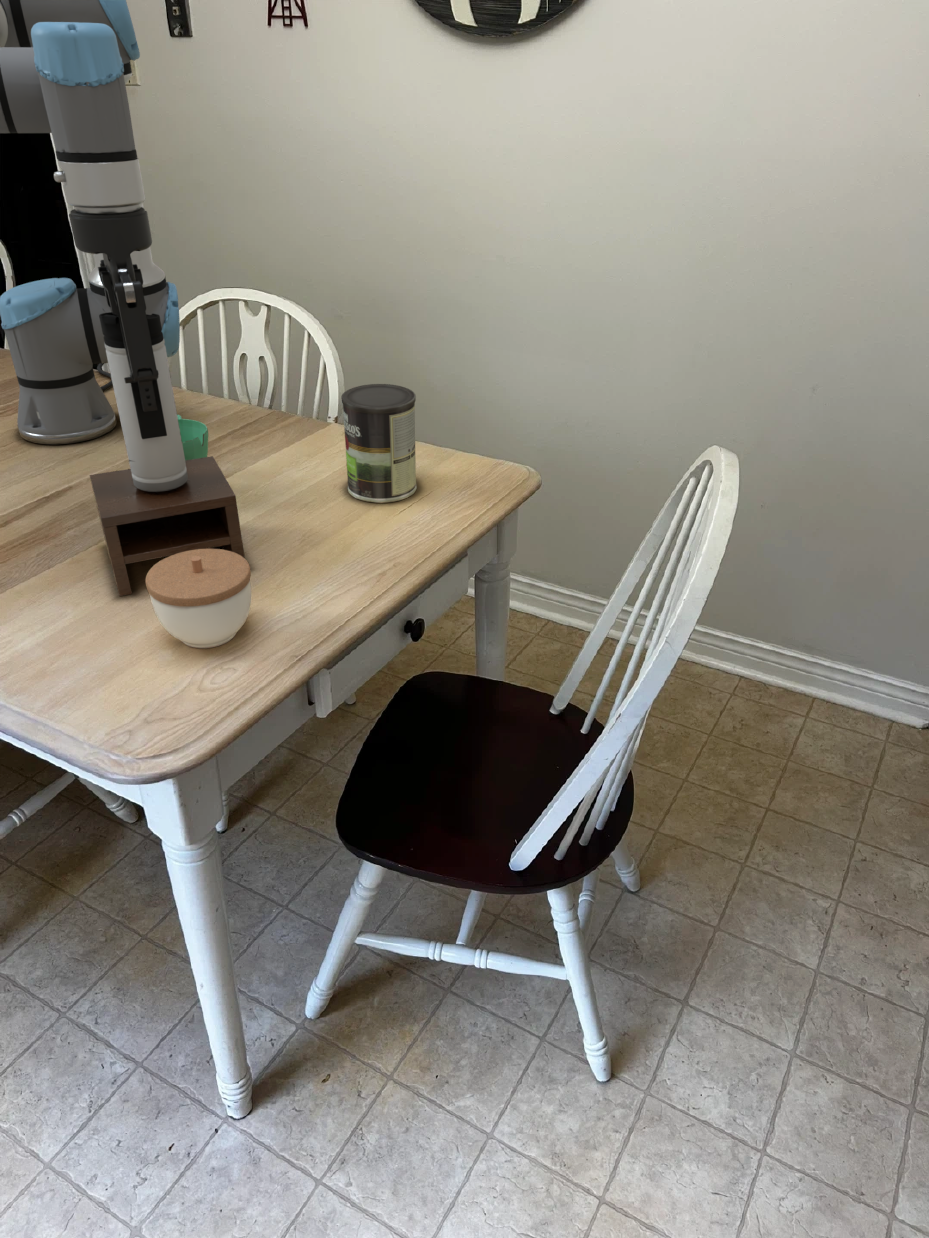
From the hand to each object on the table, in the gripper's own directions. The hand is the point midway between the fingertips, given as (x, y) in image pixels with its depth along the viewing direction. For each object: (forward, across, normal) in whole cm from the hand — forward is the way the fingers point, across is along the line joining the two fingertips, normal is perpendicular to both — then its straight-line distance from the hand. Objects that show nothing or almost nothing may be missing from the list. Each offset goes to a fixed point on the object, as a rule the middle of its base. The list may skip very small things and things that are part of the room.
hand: (149, 425), depth 100 cm
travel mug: (+7, 0, 0) cm, 7 cm away
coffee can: (+18, -10, +32) cm, 37 cm away
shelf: (+18, 0, 0) cm, 18 cm away
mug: (+18, -20, +4) cm, 28 cm away
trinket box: (+18, +18, 0) cm, 26 cm away
